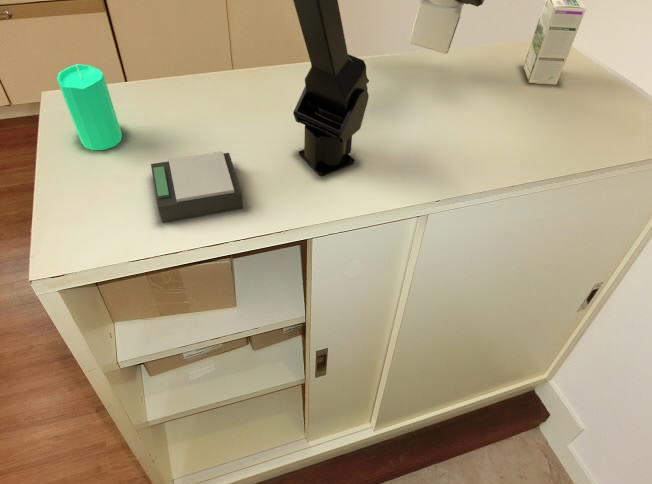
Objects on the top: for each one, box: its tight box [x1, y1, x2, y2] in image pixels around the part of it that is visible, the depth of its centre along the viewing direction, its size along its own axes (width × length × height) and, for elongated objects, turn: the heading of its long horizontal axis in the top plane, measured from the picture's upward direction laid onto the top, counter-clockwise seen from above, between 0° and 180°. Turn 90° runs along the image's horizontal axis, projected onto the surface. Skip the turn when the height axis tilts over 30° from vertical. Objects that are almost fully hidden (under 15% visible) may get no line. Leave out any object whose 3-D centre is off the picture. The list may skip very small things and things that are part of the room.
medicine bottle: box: [408, 0, 464, 55], centre depth 91 cm, size 7×7×12 cm
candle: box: [56, 63, 123, 151], centre depth 77 cm, size 6×6×12 cm
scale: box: [150, 151, 244, 223], centre depth 74 cm, size 11×9×3 cm
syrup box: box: [522, 0, 587, 86], centre depth 97 cm, size 6×6×14 cm
